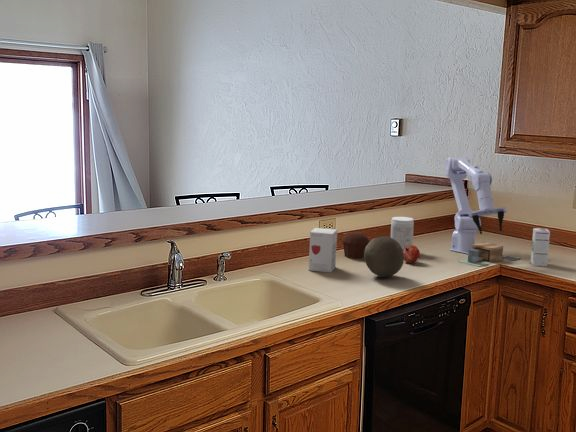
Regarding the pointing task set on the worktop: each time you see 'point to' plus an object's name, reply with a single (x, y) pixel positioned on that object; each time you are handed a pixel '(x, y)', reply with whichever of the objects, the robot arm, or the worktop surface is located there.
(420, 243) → the worktop surface
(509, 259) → the pit right
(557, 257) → the worktop surface
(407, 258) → the pomegranate
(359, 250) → the muffin
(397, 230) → the supplement tub
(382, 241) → the cantaloupe
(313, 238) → the supplement box
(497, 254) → the tunnel
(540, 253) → the syrup box
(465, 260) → the pad
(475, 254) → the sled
